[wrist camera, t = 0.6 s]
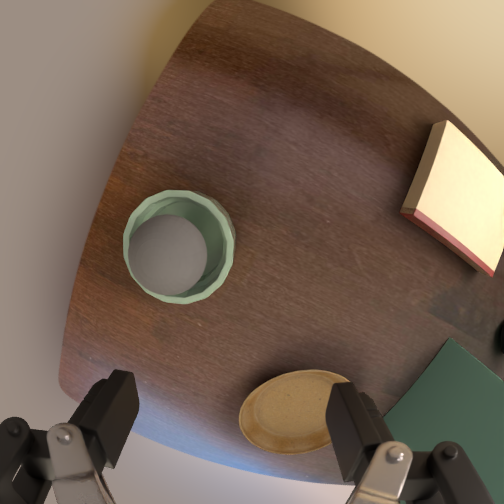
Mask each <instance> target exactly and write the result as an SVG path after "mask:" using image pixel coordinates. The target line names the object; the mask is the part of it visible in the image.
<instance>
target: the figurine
mask: <svg viewBox="0 0 504 504" xmlns="http://www.w3.org/2000/svg"><path fill="white" fill-rule="evenodd" d="M501 350H502V352H503V353H504V325H503V327H502V331H501Z"/></svg>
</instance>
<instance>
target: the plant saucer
mask: <svg viewBox="0 0 504 504" xmlns="http://www.w3.org/2000/svg"><path fill="white" fill-rule="evenodd" d="M342 382H350V381H349V380H347V379H346V378H344V377H343V376H341V375H338V374H336V373H333V372H329V371H324V370H299V371H293V372H289V373H285V374H282V375H279V376H277V377H275V378H272V379H270V380H268V381H267V382H265V383H263V384H262V385H260V386H259V387H257V388H256V389H255V390H254V391H253V392H252V393H250V394H249V396H248V397H247V398H246V400H245V401H244V403H243V404H242V406H241V409H240V412H239V425H240V429H241V431H242V433H243V435H244V436H245V437H246V438H247V439H248V441H250V442H251V443H252V444H253V445H255V446H256V447H258V448H260V449H262V450H265V451H268V452H272V453H276V454H286V455H287V454H288V455H292V454H302V453H307V452H312V451H315V450H318V449H321V448H323V447H325V446H327V445H329V444H331V443H332V441H331V438H330V435H329V431H328V428H327V425H326V420H325V413H326V408H327V404H328V400H329V396H330V393H331V389H332V386H333V384H334V383H342Z"/></svg>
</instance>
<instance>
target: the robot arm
mask: <svg viewBox="0 0 504 504" xmlns="http://www.w3.org/2000/svg"><path fill="white" fill-rule="evenodd" d="M138 411H139V397H138V393H137V388H136V383H135V378H134V374H133V373H132V372H128V371H122V370H117V369H115V370H114V371H113V372H112V373H111V375H110V376H109V378H108V379H101V380H100V381H98V382H97V383H95V384H94V385H93V386H92V388H91V389H90V390H89V392H88V394H87V395H86V396H85V398H84V400H83V401H82V402H81V403H80V405H79V407H78V408H77V409H76V411H75V412H74V414H73V415H72V417H71V418H70V420H69V421H68V423H59V424H56V425H54V426H52V427H51V428H50V429H49V431H43V430H35V429H30V427H29V425H28V424H27V422H26V421H25V420H24V419H22V418H19V417H11V418H7V419H6V420H4V421H3V422H2V423H1V424H0V504H44V501H45V499H46V497H47V494H48V492H49V490H50V488H51V486H53V490H54V493H55V497H56V500H57V503H58V504H116V503H115V501H114V498H113V497H112V494H111V492H110V490H109V488H108V486H107V483H106V481H105V479H104V476H103V474H102V471H103V468H104V466H105V467H109V468H112V469H114V468H115V466H116V463H117V461H118V459H119V456H120V454H121V451H122V449H123V447H124V444H125V442H126V440H127V437H128V435H129V433H130V430H131V428H132V426H133V423H134V421H135V419H136V417H137V414H138ZM325 420H326V425H327V428H328V431H329V435H330V438H331V441H332V444H333V447H334V451H335V454H336V457H337V460H338V463H339V467H340V470H341V473H342V477H343V480H344V482H349V481H354V482H355V485H356V486H355V488H354V490H353V491H352V493H351V495H350V497H349V498H348V500H347V502H346V503H345V504H400V501H405V502H406V504H495V502H494V501H493V499H492V497H491V495H490V493H489V492H488V490H487V488H486V486H485V484H484V483H483V481H482V479H481V478H480V476H479V474H478V472H477V471H476V469H475V467H474V466H473V464H472V462H471V461H470V459H469V457H468V456H467V454H466V453H465V451H464V449H463V448H462V447H461V446H460V445H459V444H457V443H455V442H452V441H443V442H440V443H438V444H437V445H436V446H435V447H434V449H433V450H432V451H411V449H410V448H409V447H408V446H407V445H406V444H404V443H402V442H398V441H395V440H394V438H393V436H392V434H391V432H390V430H389V428H388V427H387V425H386V423H385V421H384V419H383V417H382V416H381V414H380V412H379V410H377V406H376V405H375V403H374V401H373V399H372V398H370V397H369V396H368V395H367V394H365V393H364V392H362V393H358V391H357V389H356V387H355V385H354V384H353V382H342V383H334V384H333V386H332V389H331V393H330V396H329V400H328V404H327V408H326V413H325ZM20 465H21V467H20ZM19 467H20V469H19V471H18V473H17V475H16V477H15V478H14V480H13V477H14V475H15V474H16V472H17V470H18V468H19ZM12 480H13V482H12Z"/></svg>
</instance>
